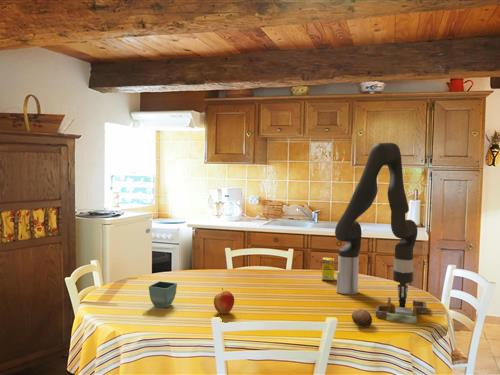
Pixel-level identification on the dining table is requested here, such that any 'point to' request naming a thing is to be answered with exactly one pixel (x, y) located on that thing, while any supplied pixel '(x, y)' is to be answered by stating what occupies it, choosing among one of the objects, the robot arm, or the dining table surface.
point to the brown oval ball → (362, 318)
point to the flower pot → (162, 293)
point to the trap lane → (385, 313)
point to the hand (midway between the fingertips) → (401, 311)
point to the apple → (224, 302)
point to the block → (403, 311)
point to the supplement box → (328, 269)
